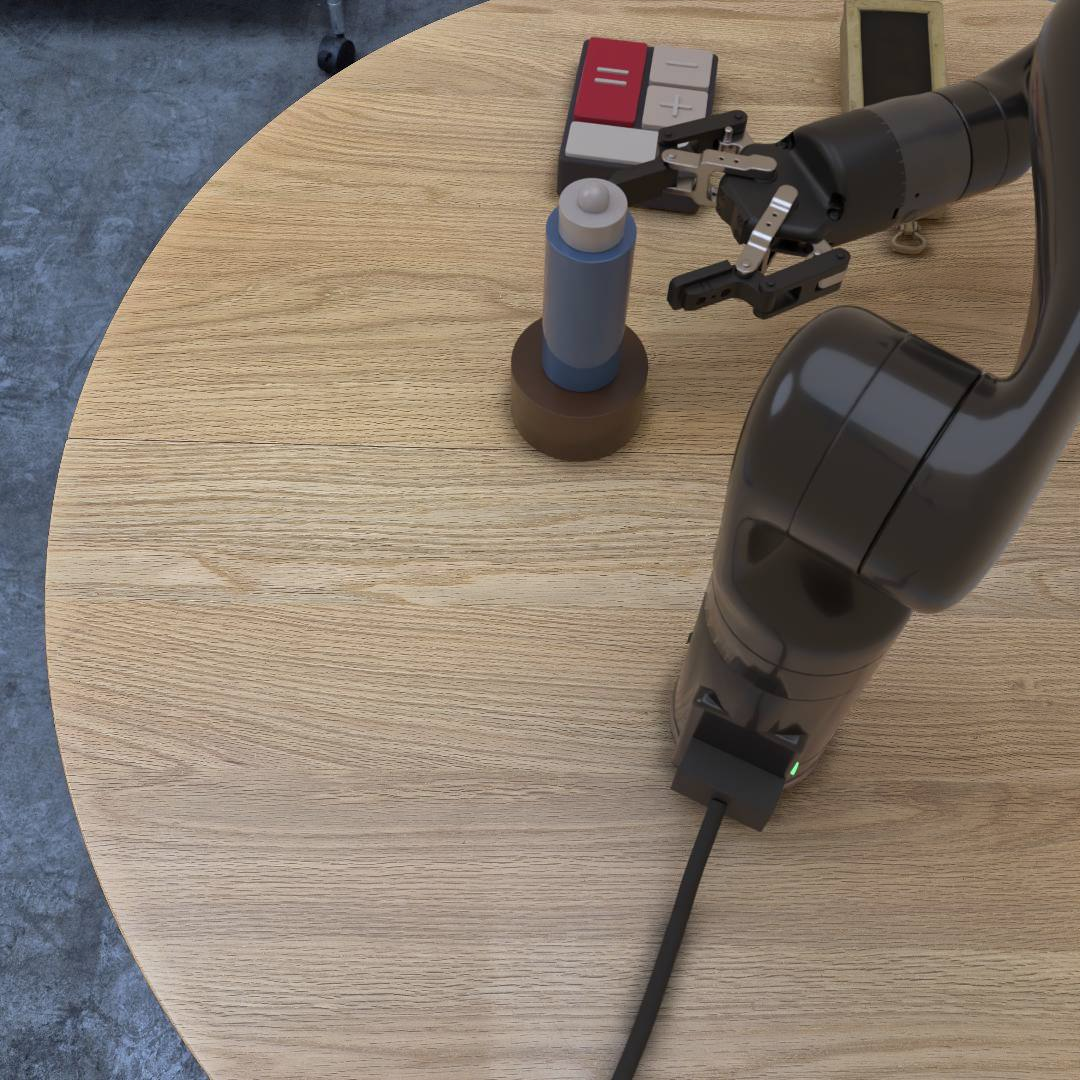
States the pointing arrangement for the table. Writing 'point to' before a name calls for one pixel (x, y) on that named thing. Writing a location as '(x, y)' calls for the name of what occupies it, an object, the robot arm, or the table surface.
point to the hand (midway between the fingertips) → (638, 244)
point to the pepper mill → (586, 284)
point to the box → (892, 63)
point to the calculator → (632, 109)
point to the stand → (576, 402)
